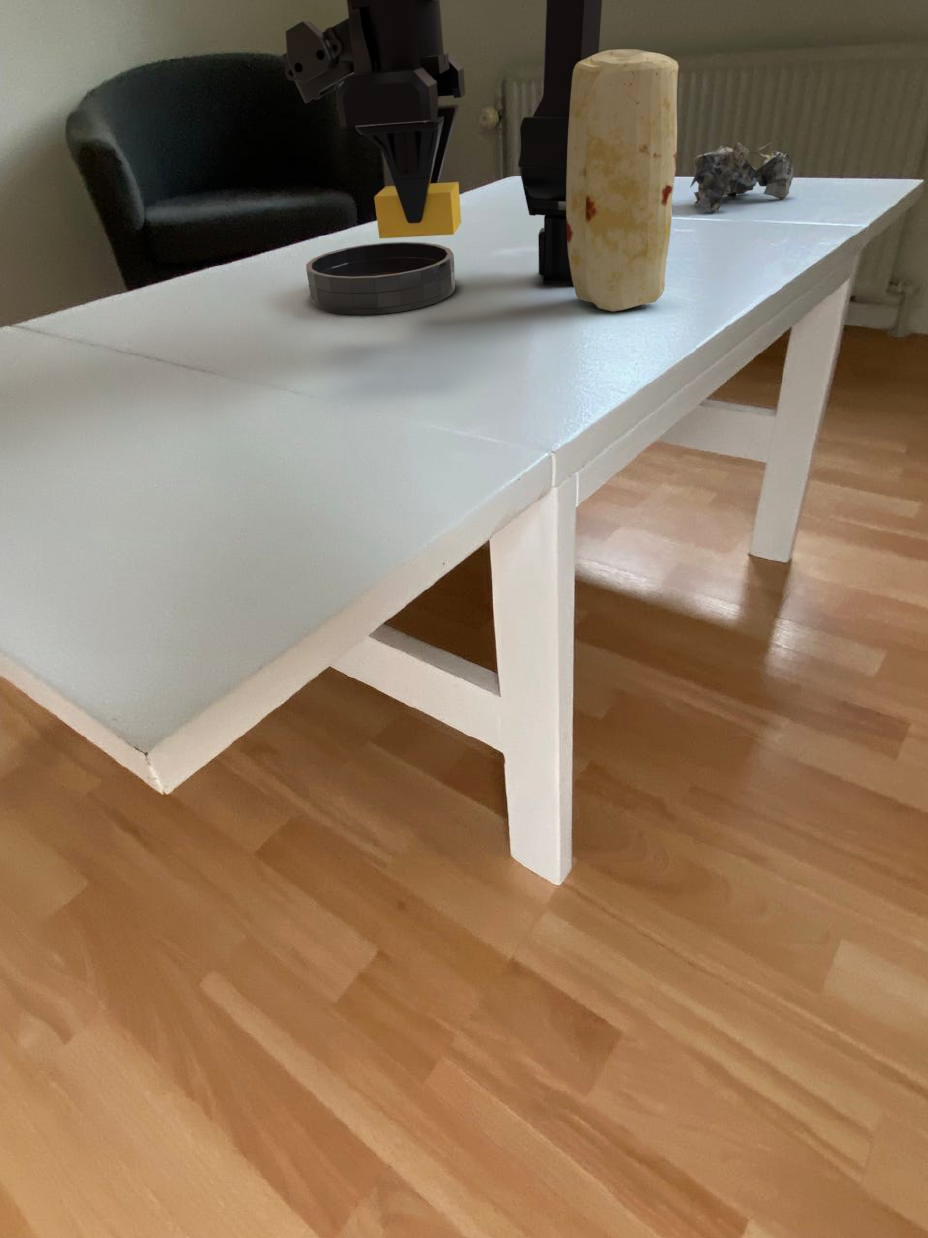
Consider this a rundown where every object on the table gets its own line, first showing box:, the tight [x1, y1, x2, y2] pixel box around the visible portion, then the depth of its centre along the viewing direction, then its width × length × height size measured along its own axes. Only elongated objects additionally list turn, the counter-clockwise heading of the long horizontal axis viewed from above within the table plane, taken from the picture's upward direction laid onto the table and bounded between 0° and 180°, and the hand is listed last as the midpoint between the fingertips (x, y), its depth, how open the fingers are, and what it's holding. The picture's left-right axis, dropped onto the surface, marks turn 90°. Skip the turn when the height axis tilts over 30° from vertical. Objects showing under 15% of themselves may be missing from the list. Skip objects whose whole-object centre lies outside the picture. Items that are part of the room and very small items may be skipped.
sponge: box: [373, 181, 462, 239], centre depth 65 cm, size 6×4×3 cm
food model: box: [566, 48, 680, 313], centre depth 72 cm, size 10×7×20 cm
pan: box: [305, 241, 456, 316], centre depth 85 cm, size 15×15×4 cm
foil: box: [689, 141, 795, 214], centre depth 111 cm, size 12×11×15 cm
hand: (419, 216), depth 65 cm, fingers closed on sponge, 4 cm apart
